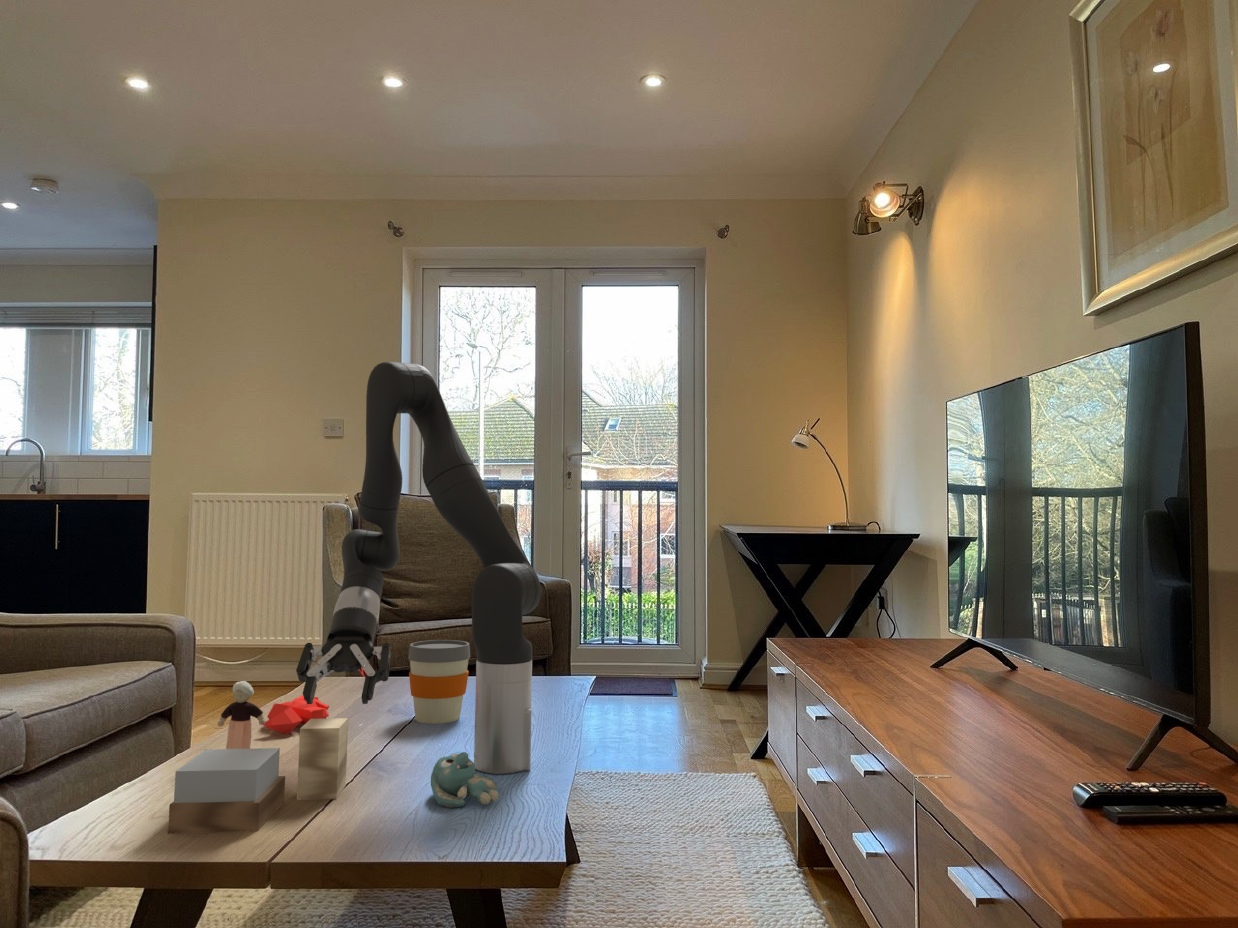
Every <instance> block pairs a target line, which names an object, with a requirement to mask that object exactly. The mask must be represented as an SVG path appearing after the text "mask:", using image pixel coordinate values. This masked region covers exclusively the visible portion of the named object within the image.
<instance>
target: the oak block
mask: <svg viewBox="0 0 1238 928" xmlns="http://www.w3.org/2000/svg"><path fill="white" fill-rule="evenodd" d="M348 731H349V717H347V718H346V717H345V718H344V717H343V718H342V717H340V718H339V717H338V718H330V717H329V718H326V719H310V720H309V721H308V722H307V723H306V724H305V725H301V727H300V728H299V740H298V743H299V744H298V764H297V765H298V766H297V788H296V791H297V792H296V793H297V794H296V800H297V801H307V800H311V801H312V800H313V801H315V800H337V799H338V798H339V796H340V795H341V793H342V792H343V791H344V789H345V788H346V785H347V763H348V759H347V758H348V740H349V739H348V738H349V737H348V736H349V735H348V734H349V733H348Z"/></svg>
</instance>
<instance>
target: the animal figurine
mask: <svg viewBox="0 0 1238 928" xmlns="http://www.w3.org/2000/svg"><path fill="white" fill-rule="evenodd" d="M329 709H330V704H325V703H323V702H322V701H320V699H319V698H318V696H314V699H313V703H312V704H307V702H306V701H305V700H304V697H303V695H300V696H298V697H296V698H294V699H293V700H291V701H287V702H282V703H273V705H272V706H271V708H270V711H269V713H268V714H267V716H266V717H267V719H268V720H267V721H266V720H265V721H266V722H265V724H264V725H263V726H264V727H266V728H268V729H269V730H271V731H276V732H278V733H282V734H291V733H292V732H293V731H294V730H295V729H296V728H297V726H304V725H305V724H306V723H307V722H308V721H309V720H310V719H327V718H328V717H329V712H328V710H329ZM329 718H330V717H329Z"/></svg>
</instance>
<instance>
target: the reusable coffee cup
mask: <svg viewBox="0 0 1238 928" xmlns="http://www.w3.org/2000/svg"><path fill="white" fill-rule="evenodd" d="M470 658H471V647H470V642H467V641H464V640H458V639H457V640H456V639H455V640H454V639H432V640H431V639H430V640H429V639H428V640H422V641H421V640H420V641H416V642H411V643H410V644H409V649H408V657H407V659H408V660H409V666H410V670H409V672H408V675H409V676H408V677H409V688H410V695H411V696H412V698H413V700H412V701H413V707H414V719H415V721H416V722H418V723H423V724H434V725H436V724H438V725H439V724H448V723H453V722H455V721H459V719H460V718H461V714H462V711H461V710H462V705H463V700H464V699H463V698H464V695H465V694H466V693H467V686H468V678H469V670H468V666H469V665H468V664H469V659H470Z"/></svg>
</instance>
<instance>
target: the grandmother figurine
mask: <svg viewBox="0 0 1238 928" xmlns="http://www.w3.org/2000/svg"><path fill="white" fill-rule="evenodd" d="M232 693H233V700H234V701H233V702H231V703H230V704H229V705H227V706H226V707H225V709H224V710H223V711H222V713H221V715H220V717H219V721H218V722H217V726H218V727H223V726H224V725H225V722H226V721H227V720H228V719H229V717H230V720H229V723H228V729H227V738H226V747H225V749H251V742H252V719H251V717H252V718H255V719H257V720H258V723H259V725H261V726H264V724H265V722H266V719H264V718H265V716H264V714H263V713H264V711H263V710H262V709H260V707H258V706H257V705H256V704H254V703H252V702H250V701H249V699H250V697H251V696H252V695H254V693H255V691H254V688H253V687H252V685H251V683H249V682H247V681H246V680H242V681H237V682H235V683H234V684H233V686H232Z"/></svg>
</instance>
